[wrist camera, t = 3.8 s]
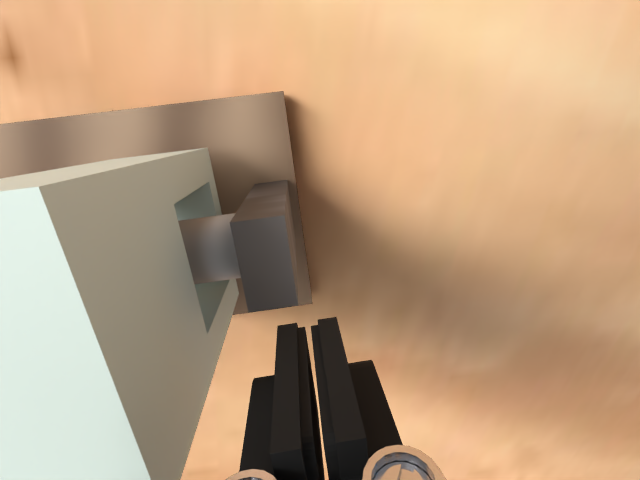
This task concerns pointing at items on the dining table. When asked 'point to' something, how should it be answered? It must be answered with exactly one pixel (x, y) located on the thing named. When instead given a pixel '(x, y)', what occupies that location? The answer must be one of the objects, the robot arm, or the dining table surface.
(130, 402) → the sleeve block
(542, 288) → the dining table surface
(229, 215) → the rod stand
